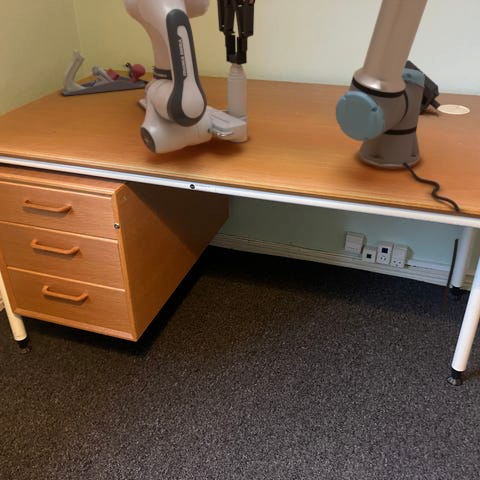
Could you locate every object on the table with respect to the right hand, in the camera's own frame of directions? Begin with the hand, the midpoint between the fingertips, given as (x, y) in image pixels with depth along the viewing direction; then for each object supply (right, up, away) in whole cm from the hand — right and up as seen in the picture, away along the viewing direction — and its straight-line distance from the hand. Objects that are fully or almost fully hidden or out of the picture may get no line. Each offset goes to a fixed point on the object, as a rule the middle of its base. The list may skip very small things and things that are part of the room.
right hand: (236, 62), depth 142 cm
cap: (0, +2, -1) cm, 2 cm away
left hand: (+1, -12, +8) cm, 15 cm away
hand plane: (-49, +9, +56) cm, 75 cm away
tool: (+55, -5, +31) cm, 63 cm away
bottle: (0, -18, +11) cm, 22 cm away
